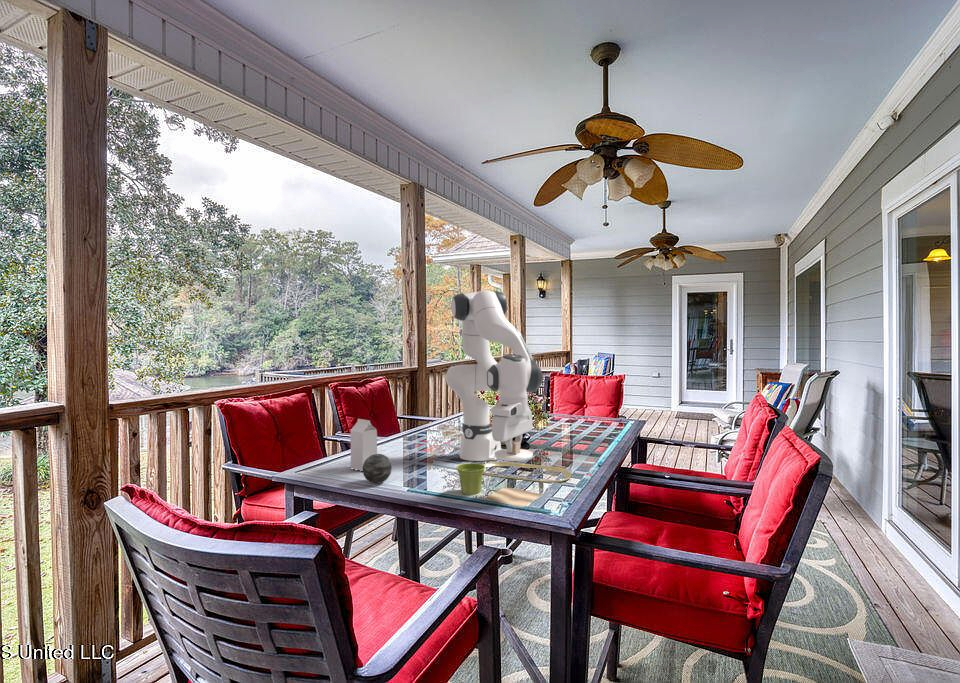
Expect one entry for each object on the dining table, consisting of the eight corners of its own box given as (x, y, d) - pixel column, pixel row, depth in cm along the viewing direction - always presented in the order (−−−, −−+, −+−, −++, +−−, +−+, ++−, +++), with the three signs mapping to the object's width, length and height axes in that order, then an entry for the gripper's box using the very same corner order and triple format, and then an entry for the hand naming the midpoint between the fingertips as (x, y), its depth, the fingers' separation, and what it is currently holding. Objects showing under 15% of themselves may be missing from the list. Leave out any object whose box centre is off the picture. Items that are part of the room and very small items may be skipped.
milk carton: (362, 472, 182) (362, 421, 182) (350, 469, 186) (350, 420, 186) (377, 468, 188) (377, 419, 188) (365, 465, 192) (365, 417, 192)
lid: (506, 449, 161) (506, 436, 161) (539, 454, 155) (539, 440, 155) (487, 457, 151) (487, 443, 151) (521, 463, 145) (521, 448, 145)
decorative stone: (382, 476, 177) (381, 449, 176) (397, 482, 169) (397, 454, 169) (357, 482, 170) (357, 454, 170) (372, 489, 162) (372, 459, 162)
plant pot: (460, 499, 152) (460, 471, 152) (453, 490, 161) (453, 464, 161) (488, 496, 155) (488, 469, 154) (481, 487, 164) (480, 462, 164)
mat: (505, 488, 162) (505, 486, 162) (543, 496, 155) (543, 494, 155) (482, 500, 151) (482, 498, 151) (522, 509, 143) (522, 507, 143)
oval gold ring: (564, 487, 165) (564, 483, 165) (470, 476, 178) (470, 472, 178) (576, 473, 182) (576, 469, 182) (489, 463, 196) (489, 459, 195)
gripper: (520, 401, 163) (520, 442, 163) (488, 410, 146) (488, 455, 146) (537, 402, 160) (537, 444, 160) (506, 412, 142) (506, 458, 143)
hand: (513, 450), depth 153 cm, fingers closed on lid, 3 cm apart
